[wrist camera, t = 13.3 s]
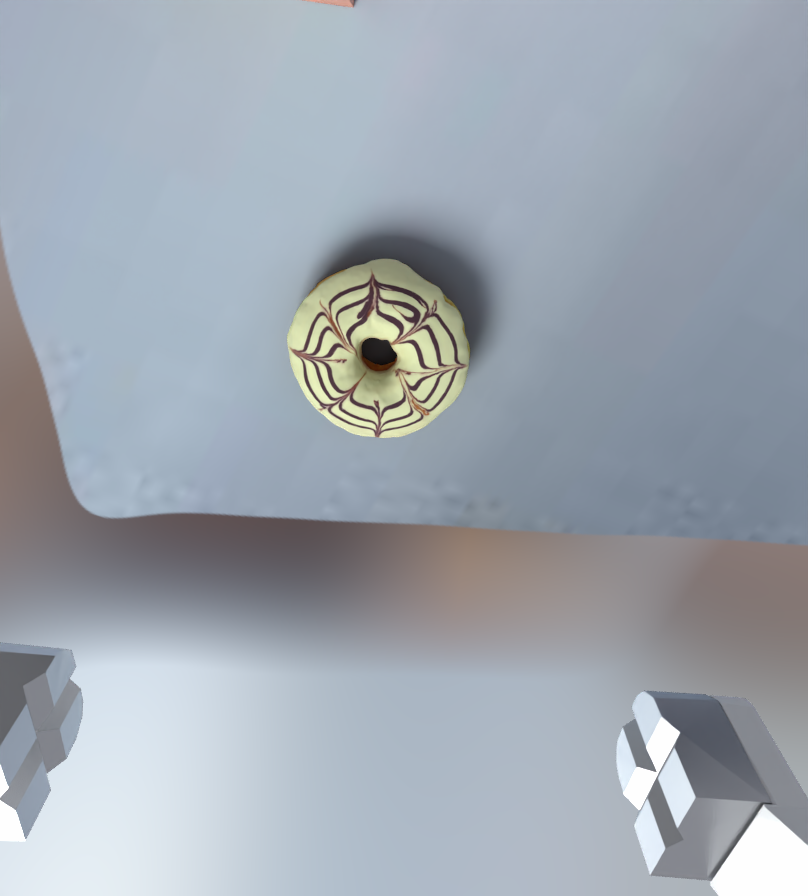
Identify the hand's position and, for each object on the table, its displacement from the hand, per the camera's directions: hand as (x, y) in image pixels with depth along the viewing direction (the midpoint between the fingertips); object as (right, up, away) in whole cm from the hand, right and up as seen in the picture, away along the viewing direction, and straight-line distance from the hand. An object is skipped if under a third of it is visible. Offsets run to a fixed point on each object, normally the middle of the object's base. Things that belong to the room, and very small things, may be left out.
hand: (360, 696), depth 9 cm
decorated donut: (-1, +10, +30) cm, 32 cm away
